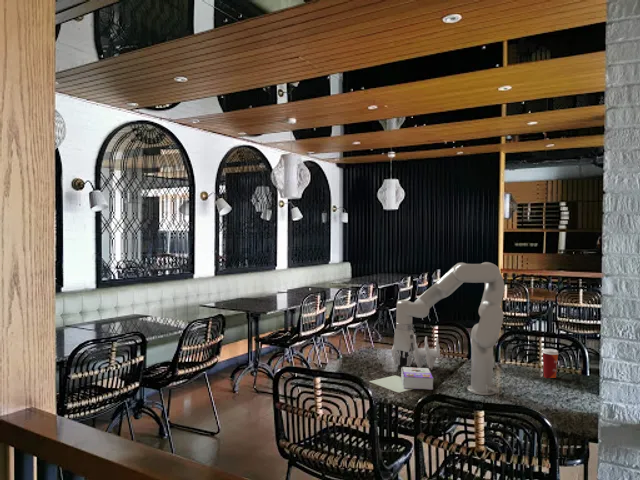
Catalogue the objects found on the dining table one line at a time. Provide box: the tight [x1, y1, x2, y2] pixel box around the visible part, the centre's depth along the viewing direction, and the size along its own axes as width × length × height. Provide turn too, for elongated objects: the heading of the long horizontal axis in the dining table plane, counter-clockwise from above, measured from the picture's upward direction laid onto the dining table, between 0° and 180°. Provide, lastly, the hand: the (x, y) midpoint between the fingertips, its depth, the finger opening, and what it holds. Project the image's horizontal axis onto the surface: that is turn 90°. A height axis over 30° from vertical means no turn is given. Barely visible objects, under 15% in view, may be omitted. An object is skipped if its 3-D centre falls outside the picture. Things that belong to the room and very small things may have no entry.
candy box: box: [400, 366, 434, 391], centre depth 237 cm, size 14×6×16 cm
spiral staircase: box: [391, 334, 441, 371], centre depth 267 cm, size 18×18×25 cm
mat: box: [368, 375, 413, 394], centre depth 237 cm, size 20×18×1 cm
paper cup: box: [541, 348, 559, 379], centre depth 251 cm, size 8×8×14 cm
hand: (403, 365), depth 233 cm, fingers closed
